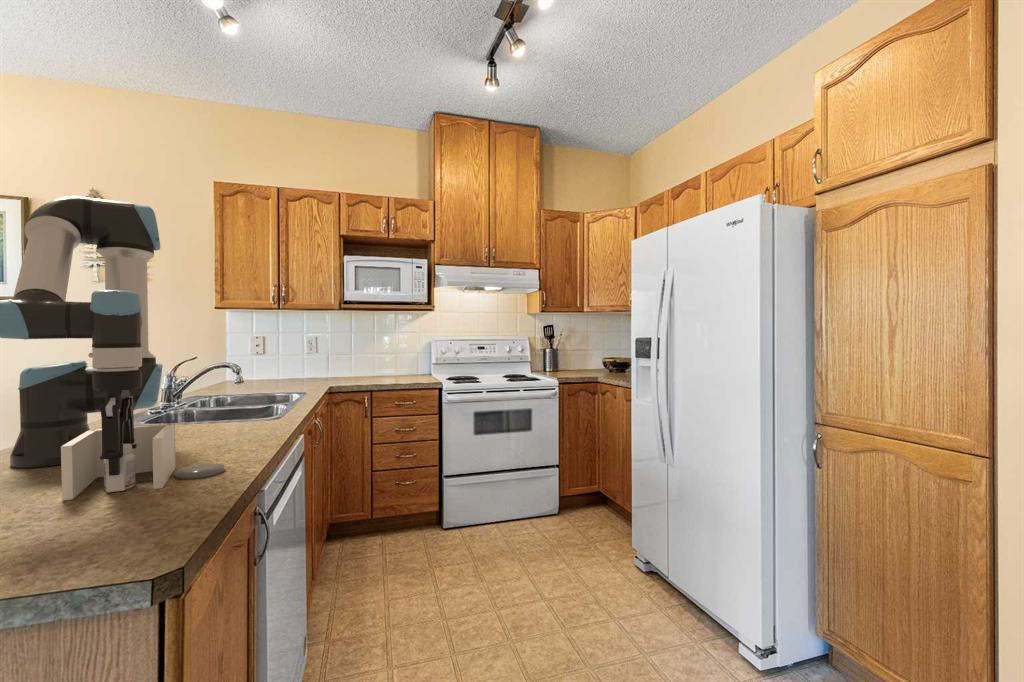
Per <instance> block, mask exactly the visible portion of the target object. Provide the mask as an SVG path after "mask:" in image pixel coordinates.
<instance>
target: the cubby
mask: <svg viewBox="0 0 1024 682" xmlns="http://www.w3.org/2000/svg"><path fill="white" fill-rule="evenodd" d="M133 444H137V447H136V448H135V449H132V454H134V456H135V474H140V473H149V472H152V479H153V480H152V481H153V483H152V486H153V487H152V488H153V490H156V489H157V490H159V489H163V488H164V487H165V485H166V484H167V482H168V480H169V478H170V477H171V476H172V474H173V472H174V471H175V469H176V467H177V466H176V464H177V463H176V461H177V460H176V458H177V457H176V423H163V424H162V423H161V424H149V425H137V426H135V425H134V443H133ZM100 456H102V428H98V429H90V430H88V431H86V432H85V433H83V434H81V435H80V436H78V437H76V438H75V439H73V440H71V441H69V442H68V443H66V444H64V445H63V446H61V464H60V465H61V466H60V467H61V500H62V501H63V502H64V501H70V500H71V501H72V500H74V499H75V498H76V497H77V496H78V495H80V493H82V492H83V491H84V490H85V489H86V488H87V487H88V486H89V485H91V484H92V483H93V481H95V480H96V479H98V478H104V459H100Z"/></svg>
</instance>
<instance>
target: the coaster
mask: <svg viewBox="0 0 1024 682" xmlns="http://www.w3.org/2000/svg"><path fill="white" fill-rule="evenodd" d="M223 472H225V465H224V464H223V463H203V464H202V463H201V464H195V465H190V466H186V467H183V468H180V469H177V470H176V471H175V472H174V477H175V479H177V480H183V481H184V480H186V481H187V480H188V481H189V480H190V481H191V480H199V479H200V480H201V479H207V478H211V477H215V476H217V475H220V474H222V473H223Z"/></svg>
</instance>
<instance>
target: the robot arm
mask: <svg viewBox="0 0 1024 682" xmlns="http://www.w3.org/2000/svg"><path fill="white" fill-rule="evenodd" d="M23 231H24V236H25V238H26V239H27V243H26V246H25V251H24V254H23V259H22V262H21V265H20V270H19V273H18V278H17V281H16V285H15V288H14V293H13V296H12V298H9V299H0V339H12V340H13V339H14V340H15V339H16V340H18V339H19V340H24V341H26V340H49V339H51V340H57V339H58V340H59V339H60V340H61V339H91V340H92V341H91V342H92V343H91V352H89V353H88V355H87V356H88V358H91V360H92V364H91V366H90V365H88V363H87V361H86V360H76V361H74V360H73V361H66V362H57V363H51V364H50V363H49V364H42V365H37V366H31V367H27V368H24V369H23V370H22V371H21V372H20V374H19V385H18V387H17V390H18V391H19V421H20V422H19V423H20V426H19V427H20V429H19V430H20V431H19V434H18V437H17V439H16V442H15V443H14V446H13V449H12V451H11V454H9V455H10V456H9V461H10V462H9V463H10V464H9V465H10V466H11V467H13V468H21V469H23V468H24V469H26V468H28V469H30V468H42V467H43V468H44V467H52V466H59V465H61V446H63V445H64V444H66V443H68V442H69V441H71V440H73V439H75V438H76V437H78V436H80V435H81V434H83V433H85V432H86V431H88V430H91V428H90V426H89V424H88V414H91V413H92V414H93V413H94V414H95V413H100V415H101V417H100V419H101V429H102V456H100V459H106V491H105V492H106V493H115V492H120V491H121V492H123V491H125V490H126V489H125V456H123V444H132V449H135V448H136V447H137V444H133V443H134V427H135V425H134V424H135V423H134V411H136V410H141V409H142V410H143V409H149V408H150V409H151V408H152V407H154V406H156V405H157V404H158V400H159V394H160V388H161V381H162V372H163V366H164V365H163V364H162V363H160V362H157V356H155V355H154V354H153V353H151V352H150V350H149V307H148V306H149V305H148V304H149V302H148V301H149V299H148V298H149V297H148V295H149V294H148V292H149V291H148V290H149V289H148V261H150V260H151V259H152V258H154V257H155V252H156V251H160V250H161V241H160V240H161V239H160V234H159V232H160V231H159V228H158V221H157V217H156V213H155V210H154V209H153V208H152V207H151V206H149V205H145V204H140V203H139V204H138V203H134V202H128V201H118V200H109V199H102V198H96V197H95V198H94V197H86V196H80V195H79V196H78V195H71V196H69V195H68V196H63V197H58V198H55V199H53V200H50V201H48V202H46V203H44V204H42V205H40V206H39V207H37V208H36V209H35V210H33V212H32V213H31V214H30V215H29V216H28V218H27V220H26V222H25V226H24V230H23ZM80 244H85V245H90V246H91V245H92V246H93V245H94V246H96V252H97V254H99V255H100V256H101V257H102V258H104V289H98V290H94V291H93V292H92V293H91V296H90V297H91V298H90V301H66V298H67V293H68V286H69V281H70V280H69V279H70V274H71V269H72V260H73V254H74V249H76V248H77V247H79V245H80ZM112 450H113V451H112ZM131 453H132V452H131Z"/></svg>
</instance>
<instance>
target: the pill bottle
mask: <svg viewBox="0 0 1024 682" xmlns="http://www.w3.org/2000/svg"><path fill="white" fill-rule="evenodd" d="M112 451H113V450H112ZM131 452H132V444H123V456H125V490H129V489H131V488H133V487H135V485H136V473H135V456H134V454H132V453H131ZM103 488H104V491H105V492H107V491H106V459H104V477H103Z"/></svg>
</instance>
